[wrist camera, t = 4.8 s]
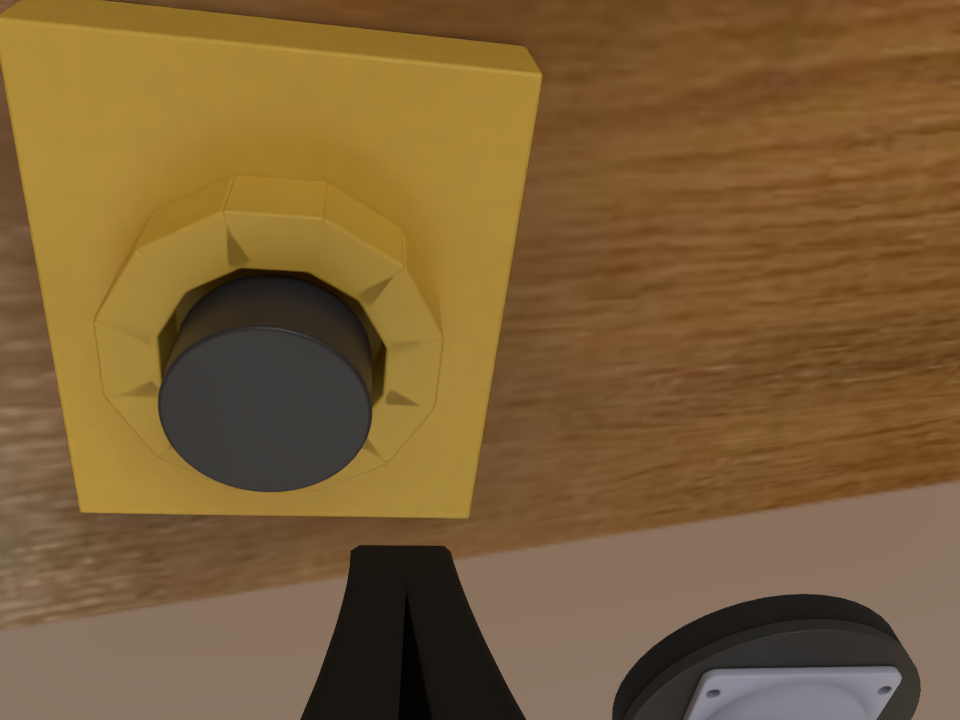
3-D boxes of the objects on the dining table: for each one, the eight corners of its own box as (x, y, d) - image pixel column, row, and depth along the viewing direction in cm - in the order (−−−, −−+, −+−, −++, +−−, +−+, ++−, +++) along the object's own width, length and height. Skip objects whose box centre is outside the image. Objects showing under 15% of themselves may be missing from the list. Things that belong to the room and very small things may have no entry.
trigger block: (461, 466, 25) (476, 570, 22) (101, 457, 23) (57, 568, 20) (526, 45, 18) (561, 102, 15) (31, -9, 17) (-53, 41, 13)
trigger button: (366, 433, 19) (366, 495, 18) (183, 428, 19) (164, 492, 17) (377, 278, 17) (378, 333, 15) (170, 266, 16) (147, 321, 15)
